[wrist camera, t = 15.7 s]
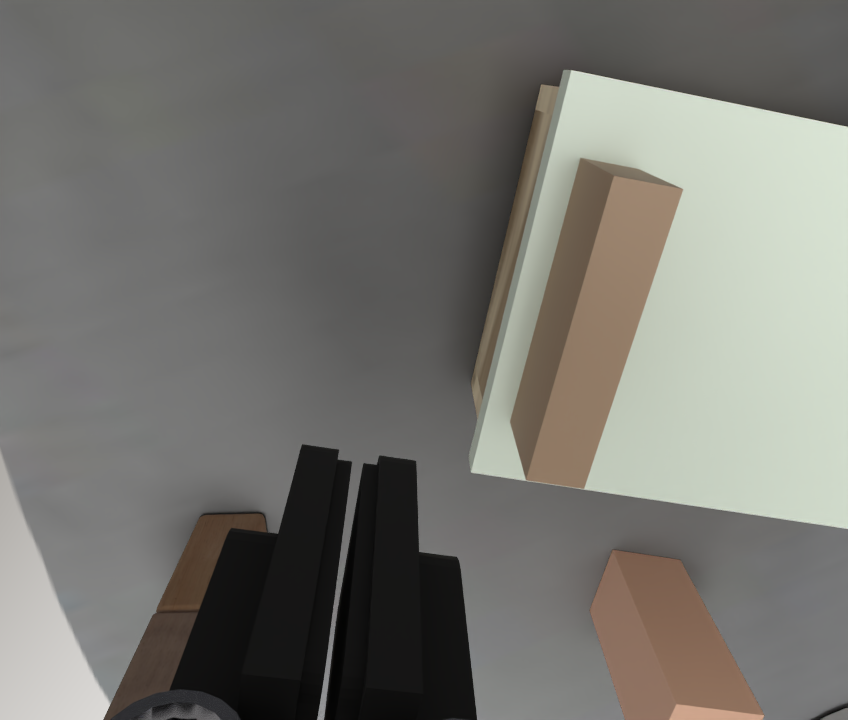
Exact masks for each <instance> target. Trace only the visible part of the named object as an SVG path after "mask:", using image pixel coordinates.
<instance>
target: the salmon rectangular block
mask: <svg viewBox="0 0 848 720" xmlns="http://www.w3.org/2000/svg"><path fill="white" fill-rule="evenodd" d="M590 613H591V616H592V619H593V622H594V625H595V629H596V632H597V635H598V638H599V641H600V644H601V647H602V650H603V653H604V656H605V659H606V662H607V665H608V668H609V672H610V675H611V678H612V681H613V684H614V687H615V690H616V693H617V696H618V699H619V702H620V705H621V708H622V711H623V715H624V718H625V720H762V719H763V717H764V716H765V715H764V713H763V712H762V710H761V708H760V706H759V704H758V702H757V701H756V699H755V697H754V695H753V693H752V691H751V690H750V688H749V686H748V684H747V682H746V680H745V678H744V677H743V675H742V673H741V671H740V669H739V667H738V666H737V664H736V662H735V660H734V658H733V656H732V654H731V653H730V651H729V649H728V647H727V645H726V643H725V642H724V640H723V638H722V636H721V634H720V632H719V631H718V629H717V627H716V625H715V623H714V621H713V619H712V618H711V616H710V614H709V612H708V610H707V608H706V607H705V605H704V603H703V601H702V599H701V597H700V595H699V594H698V592H697V590H696V588H695V586H694V584H693V583H692V581H691V579H690V577H689V575H688V573H687V572H686V570H685V568H684V566H683V564H682V562H681V560H678V559H672V558H665V557H658V556H652V555H645V554H638V553H632V552H625V551H618V550H612V552H611V555H610V558H609V560H608V563H607V566H606V568H605V571H604V574H603V576H602V579H601V582H600V584H599V587H598V589H597V592H596V595H595V597H594V600H593V603H592V605H591V608H590Z"/></svg>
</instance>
